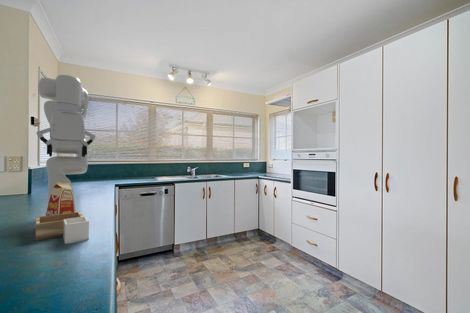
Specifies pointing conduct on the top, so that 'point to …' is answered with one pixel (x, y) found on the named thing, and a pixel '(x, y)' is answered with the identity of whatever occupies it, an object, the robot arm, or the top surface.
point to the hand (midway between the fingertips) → (67, 156)
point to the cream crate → (76, 230)
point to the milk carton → (61, 200)
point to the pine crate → (52, 225)
